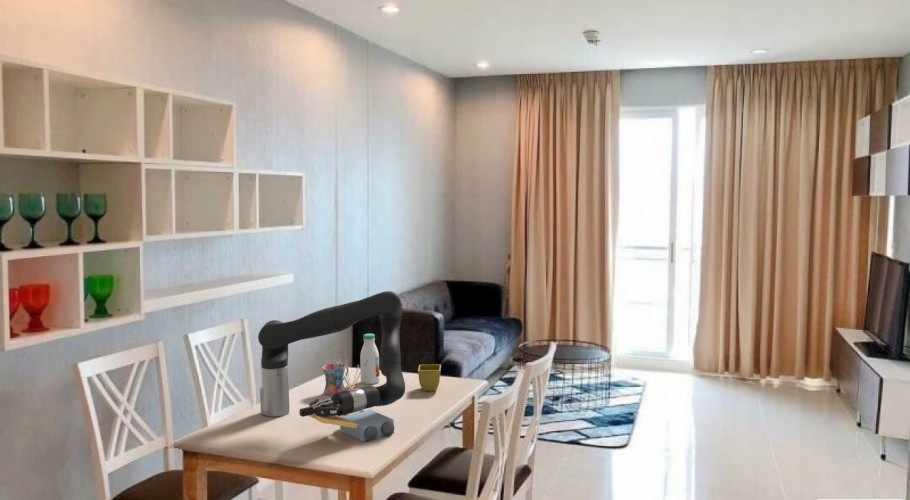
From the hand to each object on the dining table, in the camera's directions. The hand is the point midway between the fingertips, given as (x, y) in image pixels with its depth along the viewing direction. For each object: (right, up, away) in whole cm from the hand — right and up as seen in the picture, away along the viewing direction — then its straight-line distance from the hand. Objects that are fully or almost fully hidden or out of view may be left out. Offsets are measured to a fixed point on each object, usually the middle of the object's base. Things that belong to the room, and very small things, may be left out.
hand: (300, 413), depth 224 cm
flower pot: (+38, -5, +63) cm, 74 cm away
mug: (+1, -6, +61) cm, 61 cm away
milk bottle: (+13, -4, +75) cm, 76 cm away
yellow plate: (+13, -5, +11) cm, 18 cm away
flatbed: (+19, -10, +16) cm, 26 cm away
